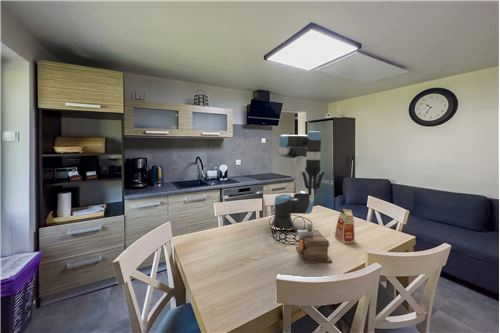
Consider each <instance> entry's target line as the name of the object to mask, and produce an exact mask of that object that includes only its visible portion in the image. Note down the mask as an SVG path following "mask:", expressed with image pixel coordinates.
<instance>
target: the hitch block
mask: <svg viewBox="0 0 500 333" xmlns="http://www.w3.org/2000/svg"><path fill="white" fill-rule="evenodd" d="M312 230H313V232H314V235H313V236H303V237H299V240H303V241H304V242H305V248H304V250H300V248H299V246H295V249H296V251H297V252H298V254H299V256H300V258H301V260H302V261H303V263H304V264H307V265H309V264H333V260H332V259H331V257H329V255H328V254H329V247H328V241H329V240H328V239H327V238H326V237H325V236H324V235H323V234H322V233H321V232H320V231H319V230H318V229H317V230H316V229H312Z"/></svg>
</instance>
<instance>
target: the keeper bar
mask: <svg viewBox="0 0 500 333" xmlns="http://www.w3.org/2000/svg"><path fill="white" fill-rule="evenodd" d="M313 230H314V229H313V224H310V223H309V224H307V229H296V236H298V237H299V238H300V237H303V236H313V235H314V232H313Z"/></svg>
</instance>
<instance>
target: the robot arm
mask: <svg viewBox="0 0 500 333" xmlns="http://www.w3.org/2000/svg"><path fill="white" fill-rule="evenodd" d="M321 150H322V131H320V130H309V131H307V134H280V135H279V136H278V145H277V147H276V152H277V154H278V155H279V156H280V157H283V158H286V159H287V158H288V159H290V158H291V159H292V161H293V162H294V181H295V182H294V184H295V186H294V187H295V193H294V194H293V196H292V195H291V194H279V195H276V196H275V198H274V202H273V203H274V217H273V221H272V223H271V226H272V225H274V226H275V227H277V228H280V229H283V228H284V229H290V228H293V229H294V222H293V219H292V214H293V215H294V214H296V215H297V214H299V215H300V214H301V215H302V214H303V215H309V214H311V213H312V212H313V209H314V199H315V196H316V192H317V189H320V187H321V183H322V179H323V176H324V175H325V171H323V170H321V169H322V168H321V154H322V151H321Z"/></svg>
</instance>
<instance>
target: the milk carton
mask: <svg viewBox="0 0 500 333" xmlns="http://www.w3.org/2000/svg"><path fill="white" fill-rule="evenodd" d="M352 211H353V210H352V209H346V208H342V211H340V212H339V216H338V219H337V224H336V227H335V232H334V238H335V239H337V241H338V242H339V241H340V243H342V244H349V242H350V243H354V242H356V240H355V239H356V232H355V221H354V215H353V212H352Z"/></svg>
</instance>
